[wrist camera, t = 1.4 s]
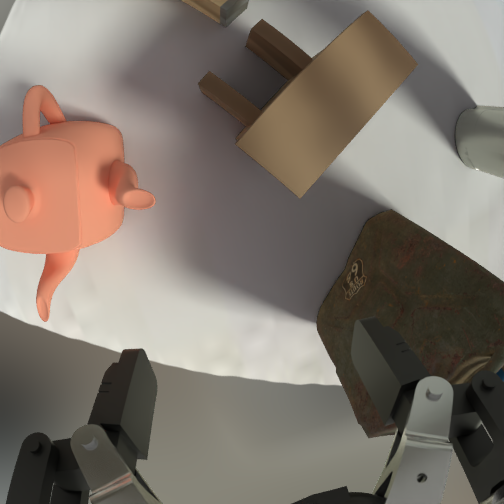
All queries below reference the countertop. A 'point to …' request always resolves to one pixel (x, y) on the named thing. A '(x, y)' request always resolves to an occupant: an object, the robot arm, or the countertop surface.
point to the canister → (413, 308)
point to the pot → (62, 189)
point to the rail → (220, 9)
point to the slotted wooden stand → (314, 97)
